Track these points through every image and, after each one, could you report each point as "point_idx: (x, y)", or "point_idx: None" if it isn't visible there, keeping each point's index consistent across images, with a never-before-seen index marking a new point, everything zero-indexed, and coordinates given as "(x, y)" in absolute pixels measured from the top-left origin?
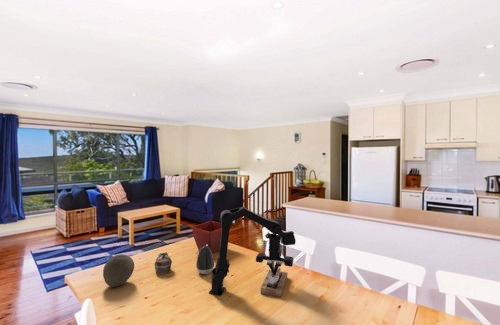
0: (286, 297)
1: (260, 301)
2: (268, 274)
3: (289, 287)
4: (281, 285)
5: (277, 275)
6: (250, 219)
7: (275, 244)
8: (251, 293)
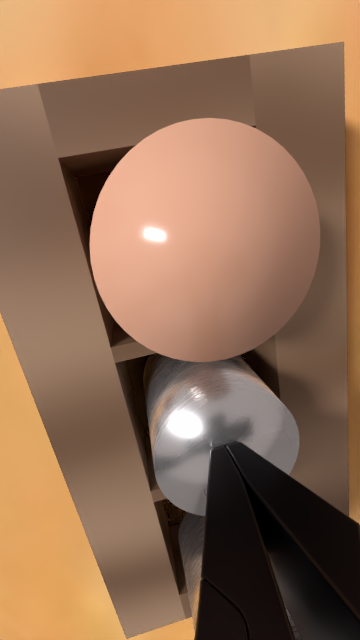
0: (351, 481)
1: (176, 625)
2: (31, 318)
3: (352, 324)
4: (331, 480)
5: (273, 424)
6: None
7: None
8: (44, 602)
